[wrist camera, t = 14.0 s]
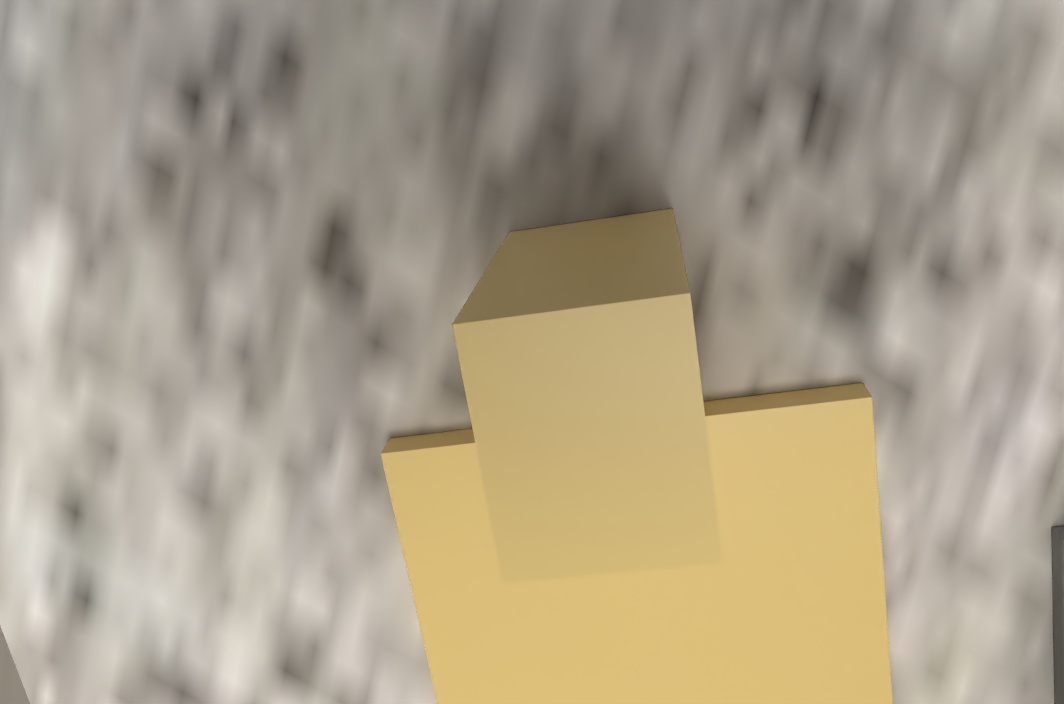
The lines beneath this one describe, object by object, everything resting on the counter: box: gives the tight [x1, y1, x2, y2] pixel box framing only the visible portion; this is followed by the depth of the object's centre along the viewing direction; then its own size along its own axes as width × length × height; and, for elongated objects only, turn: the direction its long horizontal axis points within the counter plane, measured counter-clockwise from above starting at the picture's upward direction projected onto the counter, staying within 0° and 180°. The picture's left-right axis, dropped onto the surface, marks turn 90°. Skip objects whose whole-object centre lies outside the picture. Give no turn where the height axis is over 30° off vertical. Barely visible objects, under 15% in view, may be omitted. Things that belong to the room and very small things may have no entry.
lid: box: [381, 208, 893, 704], centre depth 23 cm, size 21×12×8 cm, turn 9°
